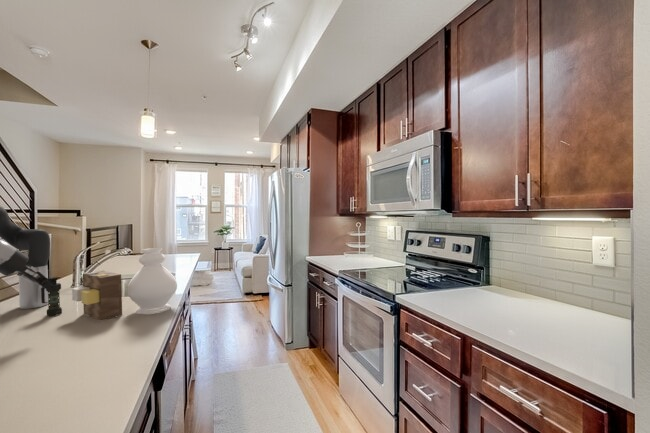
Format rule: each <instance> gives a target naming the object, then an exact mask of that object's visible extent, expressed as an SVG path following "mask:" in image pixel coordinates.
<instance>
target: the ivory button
mask: <svg viewBox="0 0 650 433" xmlns="http://www.w3.org/2000/svg"><path fill="white" fill-rule="evenodd" d="M85 290H90V288H89V287H85V286H84V287H83V286H80V287H73V288H71V294H72V295H71V296H72V299H71V300H72V301H74V302H77V303H78V302H82V296H81V291H85Z"/></svg>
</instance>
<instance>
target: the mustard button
mask: <svg viewBox="0 0 650 433" xmlns="http://www.w3.org/2000/svg"><path fill="white" fill-rule="evenodd" d="M81 296H82V301H81V304H83V305H84V304H86V305H89V304H93V303H98V302H100V291H99V290H96V289H90V290H85V291H81Z"/></svg>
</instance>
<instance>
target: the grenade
mask: <svg viewBox="0 0 650 433" xmlns="http://www.w3.org/2000/svg"><path fill="white" fill-rule="evenodd" d="M58 279H61V277H58V276H55V277H54V276H53V277H50V278H49V277H48V281H50V282H51V283H53V284H54V285H56V286H57V287H56V288H55V289H54V290H53V291H49V290H47V289H46V291H48V302H45V291H44V290H45V288H44V287H42V288H41V301H42V303H48V304H47V305H48V309H46V316H48V317H54V316H55V317H56V316H59V315H61V314H63V309H62V307H61V304H60V303H61V302H60V301H61V300H60V290H62V284H61V283H60V282H59V283H57V282H58Z"/></svg>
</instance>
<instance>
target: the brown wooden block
mask: <svg viewBox="0 0 650 433" xmlns="http://www.w3.org/2000/svg"><path fill="white" fill-rule="evenodd" d="M84 286H85V287H89V288H90V289H96V290H99V291H100V302H98V303H93V304H89V305H86V304H83V315H85V316H88V317H90V318H93V319H95V320H99V321H101V322H104V321H106V320H110V319H113V317H114V318H117V317H120V316H123V299H122V298H123V296H122V294H123V291H122V274H121V273H115V272H110V271H105V270H100V271H92V272H86V273H82V287H84ZM116 316H117V317H116Z"/></svg>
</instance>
